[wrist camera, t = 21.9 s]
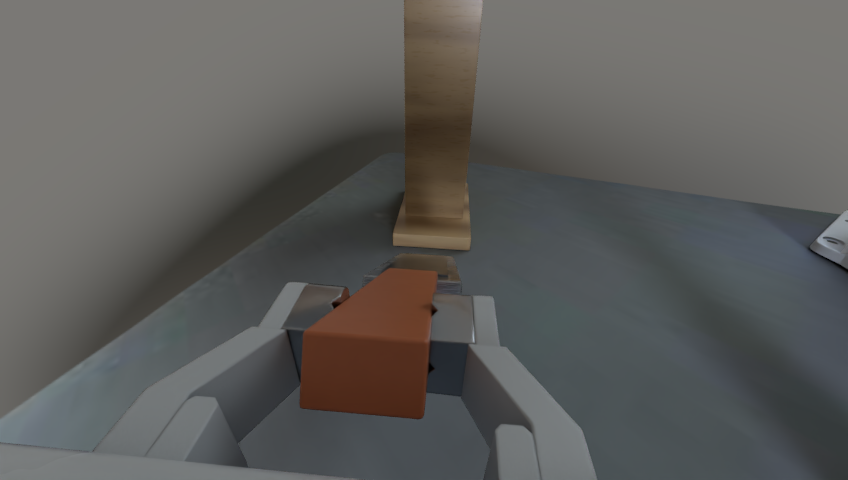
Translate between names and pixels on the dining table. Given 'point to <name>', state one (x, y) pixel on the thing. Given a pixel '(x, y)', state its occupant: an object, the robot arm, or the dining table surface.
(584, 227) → the dining table surface
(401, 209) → the shelf stand
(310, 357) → the grater
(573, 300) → the dining table surface
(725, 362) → the dining table surface
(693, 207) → the dining table surface
